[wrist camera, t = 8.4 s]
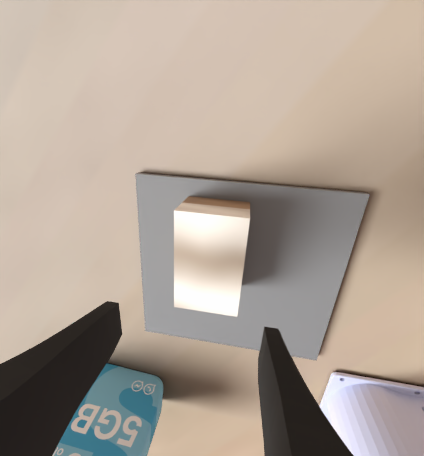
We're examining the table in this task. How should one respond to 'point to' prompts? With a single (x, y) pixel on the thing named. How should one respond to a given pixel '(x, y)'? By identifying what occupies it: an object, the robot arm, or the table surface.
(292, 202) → the desk mat
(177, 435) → the table surface
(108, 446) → the data package
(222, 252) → the metal box
